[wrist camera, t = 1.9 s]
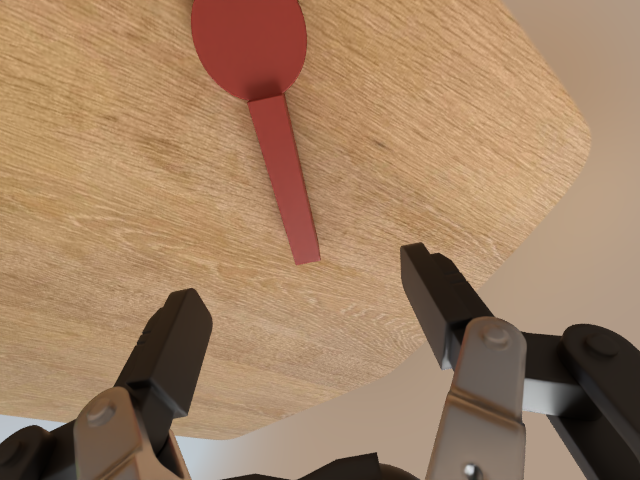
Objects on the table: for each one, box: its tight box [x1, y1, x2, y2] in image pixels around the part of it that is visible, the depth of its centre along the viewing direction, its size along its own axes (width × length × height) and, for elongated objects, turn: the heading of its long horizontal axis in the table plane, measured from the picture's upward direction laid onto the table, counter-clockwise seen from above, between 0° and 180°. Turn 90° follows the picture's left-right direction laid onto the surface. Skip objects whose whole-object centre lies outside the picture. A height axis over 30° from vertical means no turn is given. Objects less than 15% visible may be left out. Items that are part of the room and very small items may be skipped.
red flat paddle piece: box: [191, 0, 321, 265], centre depth 20 cm, size 19×6×3 cm, turn 10°
